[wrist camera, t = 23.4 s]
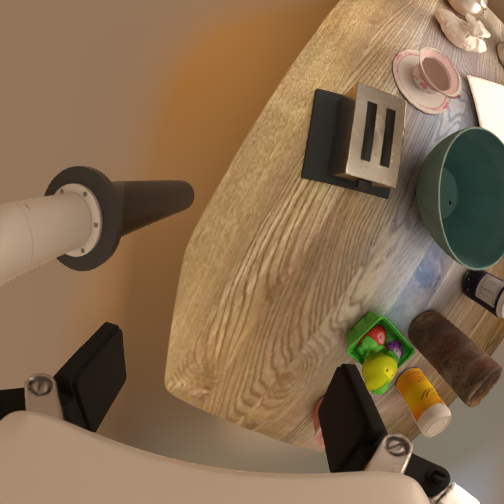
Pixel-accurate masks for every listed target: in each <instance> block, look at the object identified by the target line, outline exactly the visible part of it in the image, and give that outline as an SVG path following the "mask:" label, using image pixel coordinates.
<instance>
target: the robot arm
mask: <svg viewBox="0 0 504 504" xmlns="http://www.w3.org/2000/svg"><path fill="white" fill-rule="evenodd" d="M102 224H103V221H102V212H101V208H100V205H99V202H98V200H97V198H96V196H95V195H94V194H93V192H92V191H91V190H90V189H88V188H87V187H86V186H84V185H82V184H77V183H72V184H66V185H64V186H62V187H61V188H60V189H58V190H57V192H56V193H55V194H54V195H51V196H44V197H37V198H31V199H25V200H19V201H14V202H8V203H4V204H0V286H2V285H3V284H4V283H6V282H8V281H10V280H12V279H14V278H15V277H17V276H19V275H21V274H23V273H25V272H27V271H29V270H32V269H33V268H36V267H38V266H40V265H42V264H44V263H46V262H48V261H50V260H52V259H55V258H57V257H59V256H61V255H63V254H67V255H69V256H73V257H79V256H83V255H85V254H87V253H89V252H91V251H92V250H93V249H94V248H95V246H96V245H97V243H98V241H99V239H100V236H101V232H102ZM125 381H126V368H125V359H124V347H123V334H122V330H121V329H119V326H118V325H115V324H112V323H108V322H105V323H104V324H103V325H102V326H101V327H100V328H99V329H98V330H97V331H96V332H95V333H94V335H92V336H91V338H90V339H89V340H88V341H87V342H86V343H85V344H84V345H83V346H81V347H80V348H79V349H78V351H77V352H76V353H75V354H74V355H73V356H72V357H71V358H70V359H69V360H68V361H67V362H66V363H65V365H64V366H63V367H62V368H61V369H60V370H59V371H58V372H57V373H56V374H55V376H54V377H51V376H50V375H47V374H44V373H38V374H34V375H32V376H30V377H29V378H28V379H27V380H26V382H25V386H24V388H17V389H8V390H0V504H480V502H479V501H478V500H477V499H476V498H474V497H473V496H472V495H470V494H469V493H468V492H466V491H465V490H464V489H462V488H461V487H460V486H458V485H457V484H456V483H455V482H454V483H453V484H451V483H450V475H449V473H448V471H447V470H446V469H444V468H442V467H441V466H439V465H436V464H434V463H432V462H429V461H427V460H425V459H423V458H421V457H419V456H417V455H415V454H413V453H412V451H413V446H412V443H411V441H410V440H409V439H408V438H407V437H405V436H403V435H401V434H397V433H392V434H388V433H387V431H386V428H385V426H384V424H383V422H382V419H381V417H380V415H379V413H378V410H377V408H376V406H375V404H374V402H373V399H372V397H371V395H370V394H369V392H368V390H367V388H366V386H365V383H364V381H363V379H362V377H361V375H360V373H359V371H358V369H357V367H356V365H355V364H342V365H341V366H340V367H337V369H336V371H335V373H334V376H333V378H332V380H331V383H330V385H329V387H328V389H327V392H326V394H325V396H324V398H323V400H322V402H321V405H320V407H319V409H318V417H319V422H320V426H321V431H322V436H323V440H324V445H325V450H326V455H327V459H328V464H329V469H330V472H331V473H318V474H282V473H263V472H251V471H240V470H232V469H225V468H218V467H212V466H206V465H200V464H195V463H190V462H186V461H181V460H177V459H173V458H168V457H164V456H161V455H157V454H153V453H150V452H147V451H143V450H140V449H137V448H134V447H131V446H128V445H125V444H122V443H119V442H117V441H114V440H111V439H108V438H106V437H103V436H101V435H98V434H95V433H94V432H96V431H97V429H98V427H99V425H100V424H101V422H102V420H103V419H104V417H105V415H106V413H107V412H108V410H109V408H110V406H111V405H112V403H113V401H114V400H115V398H116V396H117V395H118V393H119V391H120V389H121V388H122V386H123V385H124V383H125Z"/></svg>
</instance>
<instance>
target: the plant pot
mask: <svg viewBox="0 0 504 504" xmlns="http://www.w3.org/2000/svg"><path fill="white" fill-rule="evenodd" d="M416 195H417V203H418V208H419V212H420V215H421V218H422V220H423V222H424V224H425V226H426V228H427V230H428V231H429V233H430V235H431V236H432V237H433V239H434V240H435V241H436V243H437V244H438V245H439V246H440V247H441V248H442V249H443V250H444V251H445V252H446V253H447V254H448V255H449V256H450V257H451V258H453V259H454V260H455V261H456V262H458V263H459V264H461V265H462V266H464V267H466V268H468V269H471V270H484V269H487V268H490V267H492V266H493V265H495V264H496V263H497V262H498V261H500V260H501V259H502V257H503V256H504V143H503V142H502V141H501V140H500V139H499V138H498V137H497V136H496V135H495V134H494V133H492V132H491V131H489V130H487V129H485V128H482V127H470V128H465V129H462V130H460V131H457V132H455V133H453V134H451V135H450V136H448V137H446V138H445V139H444V140H442V141H441V142H440V143H439V144H437V145H436V146H435V147H434V149H433V150H432V151H431V152H430V153H429V154H428V156H427V157H426V159H425V161H424V163H423V164H422V167H421V169H420V172H419V175H418V180H417V188H416ZM448 201H450V204H448Z"/></svg>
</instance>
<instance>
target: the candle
mask: <svg viewBox="0 0 504 504" xmlns="http://www.w3.org/2000/svg"><path fill="white" fill-rule="evenodd" d="M409 339H410V341H411V342H412V344H413V345H414V346H415V347H416V348H417V349H418V350H419V352H420V353H421V354H422V355H423V356H424V357H425V358H426V359H427V360H428V361H429V362H430V363H431V365H432V366H433V367H434V368H435V369H436V370H437V371H438V373H439V374H440V375H441V376H442V377H443V378H444V379H445V381H446V382H447V383H448V384H449V385H450V386H451V387H452V389H453V390H454V391H455V393H456V394H457V395H458V396H459V397H460V399H461V400H462V401H463V402H464V403H465V404H466V405H468V406H469V407H474V406H476V405H478V404H479V403H480V402H481V400H482V399H483V398H484V397H485V396H486V395H487V394H488V393H489V391H490V389H491V388H493V386H494V385H495V384H496V383H497V382H498V380H499V379H500V376H501V372H502V367H501V366H500V365H499V364H498V363H497V362H496V361H494V360H493V359H492V358H491V357H490V356H489V355H488V354H487V353H486V352H484V351H483V350H482V349H481V348H480V347H479V346H478V345H476V344H475V343H474V342H473V341H472V340H471V339H470V338H468V337H467V336H466V335H465V334H464V333H463V332H461V331H460V330H459V329H458V328H457V327H456V326H454V325H453V324H452V323H451V322H450V321H448V320H447V319H446V318H445V317H443V316H442V315H441V314H439V313H438V312H435V311H432V312H425V313H424V314H422V315H421V316H420V317H418V318H416V319H414V321H413V322H412V323H411V325H410V328H409Z"/></svg>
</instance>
